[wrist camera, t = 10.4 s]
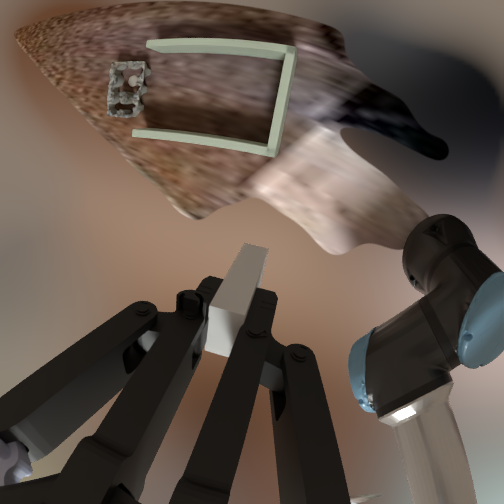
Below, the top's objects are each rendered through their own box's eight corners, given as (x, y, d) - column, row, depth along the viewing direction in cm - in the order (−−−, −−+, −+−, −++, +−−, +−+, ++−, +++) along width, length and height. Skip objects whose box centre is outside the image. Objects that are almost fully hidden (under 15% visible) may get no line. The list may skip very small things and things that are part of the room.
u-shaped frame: (297, 56, 34) (296, 46, 29) (278, 153, 42) (274, 157, 37) (163, 47, 36) (147, 40, 31) (149, 134, 44) (132, 136, 39)
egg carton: (124, 62, 39) (111, 59, 35) (157, 63, 38) (145, 60, 35) (112, 114, 43) (98, 115, 40) (143, 119, 43) (130, 120, 39)
